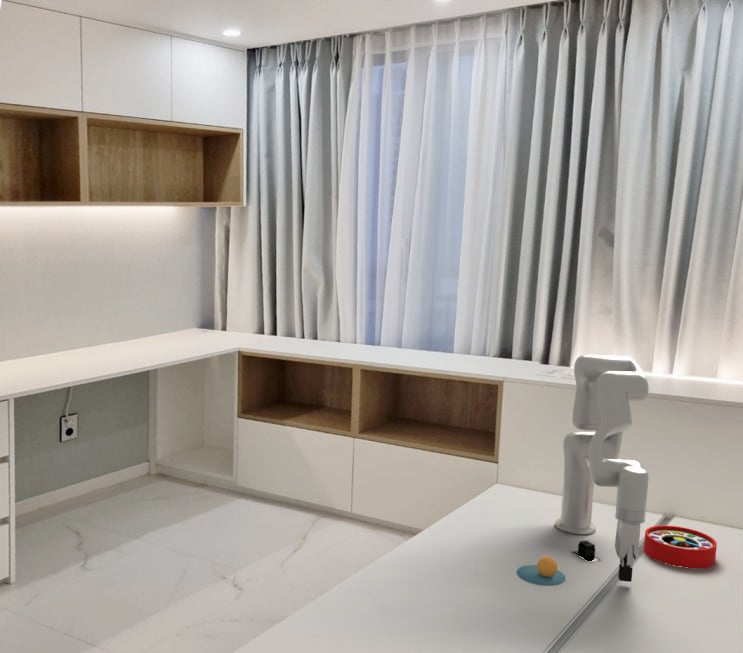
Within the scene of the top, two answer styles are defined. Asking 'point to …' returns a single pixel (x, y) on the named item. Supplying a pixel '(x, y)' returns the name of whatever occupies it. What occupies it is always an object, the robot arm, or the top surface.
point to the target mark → (539, 576)
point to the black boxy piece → (586, 550)
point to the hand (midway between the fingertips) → (624, 579)
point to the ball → (547, 566)
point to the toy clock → (680, 546)
